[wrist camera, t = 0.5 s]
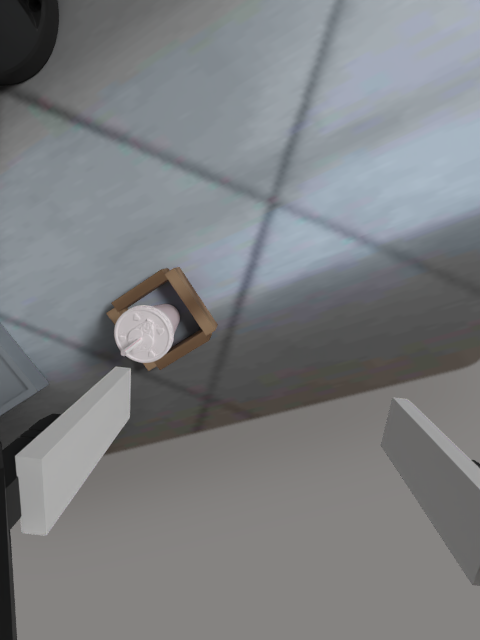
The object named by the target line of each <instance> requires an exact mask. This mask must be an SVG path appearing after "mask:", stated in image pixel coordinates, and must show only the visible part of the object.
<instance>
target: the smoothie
mask: <svg viewBox="0 0 480 640" xmlns="http://www.w3.org/2000/svg"><path fill="white" fill-rule="evenodd" d="M179 321H180V314H179V311H178V310H177V309H176V308H175V307H174V306H173V305H170V304H161V305H156V306H146V305H140V306H135V307H132V308H130V309H128V310H127V311H126V312H124V313H123V314H122V315H121V316H120V317H119V318H118V320H117V322H116V324H115V328H114V337H115V341H116V344H117V346H118V348H119V349H120V351H121V355H122V356H126V357H128V358H129V359H131V360H133V361H136V362H140V363H150V362H154V361H156V360H158V359H160V358H162V357H163V356H164V355H165V354H166V353H167V352H168V351H169V349H170V348H171V346H172V343H173V338H174V333H175V330H176V328H177V326H178V324H179Z"/></svg>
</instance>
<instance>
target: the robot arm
mask: <svg viewBox="0 0 480 640" xmlns="http://www.w3.org/2000/svg"><path fill="white" fill-rule="evenodd" d="M58 24H59V12H58V3H57V0H0V85H9V84H15V83H19V82H22V81H24V80H26V79H28V78H30V77H31V76H33V75H34V74H35V73H37V72H38V71H39V70H40V69H41V68H42V67H43V65H44V64H45V63H46V61H47V60H48V58H49V56H50V54H51V52H52V50H53V48H54V45H55V41H56V38H57V33H58ZM130 387H131V368H124V367H115V368H114V369H112V370H111V371H110V372H109V373H108V374H107V375H106V376H105V377H103V378H102V379H101V380H100V381H99V382H98V383H97V384H96V385H94V386H93V387H92V388H91V389H90V390H89V391H88V392H87V393H85V394H84V395H83V396H82V397H81V398H80V399H79V400H78V401H76V402H75V403H74V404H73V405H72V406H71V407H70V408H69V409H67V410H66V411H65V412H64V413H63V414H62V415H61V414H51V415H49V416H47V417H45V418H43V419H41V420H39V421H38V422H37V423H35V424H34V425H33V426H32V427H30V428H29V430H27V431H26V432H24V433H23V434H22V435H21V436H20V438H17V439H16V440H15V441H13V442H12V443H11V444H10V445H9V446H7V447H6V448H5V449H4V450H3V451H2V444H1V442H0V640H17V632H16V616H15V599H14V583H13V568H12V553H11V552H12V551H11V536H10V529H11V528H12V527H13V526H14V524H15V523H16V522H17V521H18V520H19V519H21V531H22V533H28V534H36V535H45V536H46V535H47V534H48V532H49V531H50V530H51V528H52V527H53V525H54V524H55V522H56V521H57V520H58V518H59V517H60V515H61V514H62V513H63V511H64V510H65V508H66V507H67V506H68V504H69V503H70V501H71V500H72V498H73V497H74V496H75V494H76V493H77V491H78V490H79V489H80V487H81V486H82V484H83V483H84V482H85V480H86V479H87V477H88V476H89V474H90V473H91V472H92V470H93V469H94V467H95V466H96V464H97V463H98V462H99V460H100V459H101V457H102V456H103V455H104V453H105V452H106V450H107V449H108V448H109V446H110V445H111V443H112V442H113V440H114V439H115V438H116V436H117V435H118V433H119V432H120V431H121V429H122V428H123V426H124V425H125V423H126V422H127V421H128V419H129V418H130ZM381 447H382V448H383V450H384V451H385V453H386V454H387V456H388V457H389V459H390V460H391V462H392V463H393V465H394V466H395V468H396V469H397V471H398V472H399V474H400V476H401V477H402V479H403V480H404V481H405V483H406V485H407V486H408V488H409V489H410V491H411V492H412V494H413V495H414V497H415V498H416V500H417V501H418V503H419V504H420V506H421V507H422V509H423V510H424V512H425V514H426V515H427V517H428V518H429V520H430V521H431V523H432V524H433V526H434V527H435V529H436V530H437V532H438V533H439V535H440V536H441V538H442V539H443V541H444V542H445V544H446V546H447V547H448V549H449V550H450V552H451V553H452V555H453V556H454V558H455V559H456V561H457V562H458V564H459V565H460V567H461V568H462V570H463V571H464V573H465V574H466V576H467V577H468V579H469V580H470V582H471V583H472V585H477V586H480V464H479V463H478V462H476V461H475V460H471V459H470V458H468V456H467V455H466V454H464V453H463V452H462V451H461V450H460V449H459V448H458V447H457V446H456V445H455V444H454V443H453V442H452V441H451V440H450V439H449V438H448V437H447V436H446V435H445V434H444V433H443V432H442V431H441V430H440V429H438V428H437V427H436V426H435V425H434V424H433V423H432V422H431V421H430V420H429V419H428V418H427V417H426V416H425V415H424V414H423V413H422V412H421V411H420V410H419V409H418V408H417V407H416V406H415V405H414V404H412V403H411V401H410V400H408V399H403V398H394V397H393V398H392V402H391V406H390V410H389V415H388V418H387V422H386V426H385V430H384V434H383V438H382V442H381Z"/></svg>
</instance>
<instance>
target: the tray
mask: <svg viewBox="0 0 480 640" xmlns="http://www.w3.org/2000/svg"><path fill="white" fill-rule="evenodd" d="M48 384H49V382H48V381H47V380H46V379H45V378H44V376H43V375H42V374H41V373H40V371H39V370H38V369H37V368H36V366H35V365H34V364H33V363H32V361H31V360H30V359H29V358H28V356H27V355H26V354H25V353H24V352H23V350H22V349H21V348H20V347H19V345H18V344H17V343H16V342H15V340H14V339H13V338H12V337H11V335H10V334H9V333H8V332H7V330H6V329H5V328H4V327H3V326H2V324H1V323H0V415H2V414H4V413H5V412H7V411H8V410H10V409H11V408H13V407H14V406H16V405H18V404H19V403H21V402H22V401H24V400H25V399H27V398H28V397H30V396H32V395H33V394H35V393H36V392H38V391H39V390H41V389H42V388H44V387H45V386H47V385H48Z"/></svg>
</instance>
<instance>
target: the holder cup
mask: <svg viewBox="0 0 480 640" xmlns="http://www.w3.org/2000/svg"><path fill="white" fill-rule="evenodd" d="M167 281H169V282H170V283H171V285H172V286H173V287H174V289H175V290H176V292H177V293H178V295H179V296H180V298H181V299H182V301H183V302H184V304H185V305H186V307H187V308H188V310H189V311H190V313H191V314H192V316H193V317H194V319H195V320H196V322H197V323H198V325H199V326H200V327H201V330H199V331H198V332H196V333H194V334H193V335H191V336H189V337H188V338H186V339H185V340H183V341H181V342H180V343H178V344H176V345H175V346H173V347H172V348H170V349H169V351H168V352H167V353H166V354H165V355H164V356H163V357H162V358H160V359H158V360H156V361H154V362H150V363H143V364H144V366H145V367H146V368H147V370H148V371H150V370H151V369H153V368H154V367H156V366H157V367H158V368H159V370H161V369H163V368H164V367H166V366H168V365H169V364H171V363H173V362H174V361H176V360H178V359H179V358H181V357H182V356H184V355H186V354H187V353H189V352H191V351H192V350H194V349H196V348H197V347H199V346H201V345H202V344H204V343H205V342H207V341H209V340H210V337H211V335H212V332H213V331H215V330H216V327H217V323H216V322H215V320H214V319H213V317H212V316H211V314H210V313H209V311H208V309H207V308H206V306H205V305H204V303H203V302H202V300H201V299H200V297H199V296H198V294H197V293H196V291H195V290H194V288H193V287H192V285H191V284H190V282H189V281H188V279H187V278H186V276H185V275H184V273H183V272H182V270H181V269H180V267H177V268H173V269H172V270H170V271H169V269H168V268H166V269H161V270H160V271H158V272H157V273H155V274H154V275H152V276H151V277H149V278H148V279H146V280H145V281H143V282H142V283H140V284H139V285H137V286H136V287H134V288H133V289H131V290H130V291H128V292H127V293H125V294H124V295H122V296H121V297H120V298H118V299H117V300H115V301H114V302H112V305H113V306H114V307H115V308H113V309H112V310H110V311H109V312H107V313H106V314H107V315H108V316H109V318H110V319H111V320H112V322H113V323H114V325H115V324H116V322H117V320H118V318H119V317H120V316H121V315H122V314H123V313H124V312H126V311H127V310H128V307H129V306H131V305H132V304H134V303H135V302H137V301H138V300H140V299H141V298H143V297H144V296H146V295H147V294H149V293H150V292H152V291H153V290H155V289H156V288H158V287H160V286H161V285H163V284H164V283H166V282H167Z"/></svg>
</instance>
